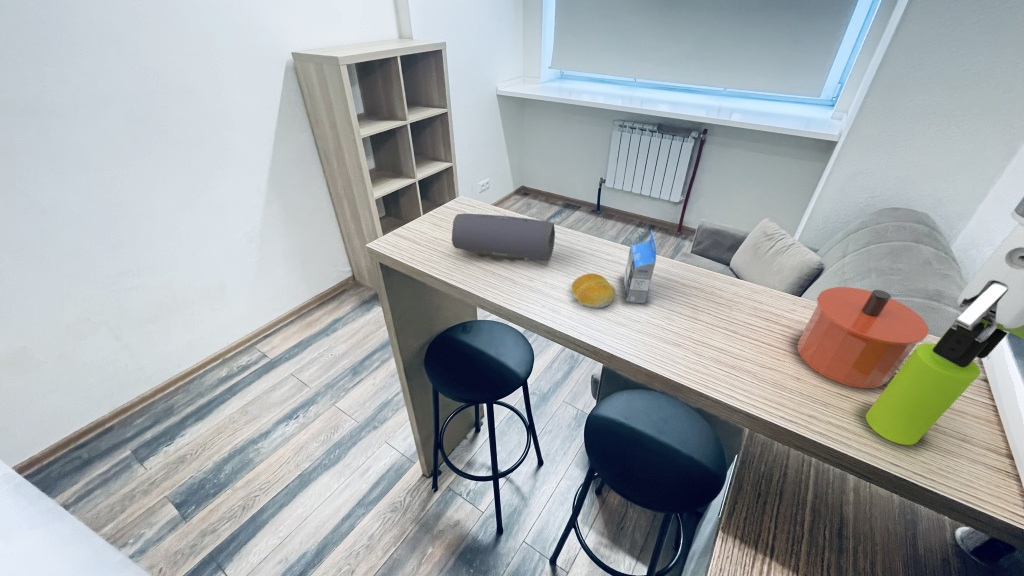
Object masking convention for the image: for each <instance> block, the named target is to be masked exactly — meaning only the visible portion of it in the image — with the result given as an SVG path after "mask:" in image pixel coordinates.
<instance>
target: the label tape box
mask: <svg viewBox="0 0 1024 576" xmlns="http://www.w3.org/2000/svg"><path fill="white" fill-rule="evenodd" d="M657 251H658V250H657V243H656V239H655V236H654V233H653V229H650V235H649V240H646V241H643V242H639V243H636V244H631V245H630V246H629V252H628V255H627V256H628V257H627V261H626V267H625V270H624V275H623V285H624V289H625V290H624V291H625V298H626V302H627V303H632V304H646V301H647V297H648V293H649V289H650V286H651V281H652V278H653V273H654V269H655V266H656V262H657Z"/></svg>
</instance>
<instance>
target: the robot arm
mask: <svg viewBox="0 0 1024 576" xmlns="http://www.w3.org/2000/svg"><path fill="white" fill-rule="evenodd" d="M1010 216H1011V218H1012V219H1013V220H1014V221H1016V222H1018V223H1017V225H1016V226H1015V227H1014V228H1013V229H1012V230H1011V231H1010V232H1009V234H1008V235H1007V236H1006V237H1005V238H1004V239H1002V240H1001V242H1000V244H998V246H997V247H996V249H995V250H994V251H993V252H992V253H991V254H990V255H989V257H988V258H987V259H986V260H985V261H984V263H983V264H982V265H981V267H980V268H979V269H978V270H977V271H976V273H975V274H974V275H973V277H971V279H970V280H969V282H968V283H967V285H965V287H964V288H963V290H962V291H961V293H960V295H959V296H958V298H957V300H956V303H957V305H958V307H959V308H965V307H966V308H965V309H964V310H963V311H962V313H961V314H960V315H958V317H956V319H955V320H954V322H953V323H952V324H951V326H949V328H948V329H947V330H948V331H947V330H946V331H947V332H946V331H945V332H946V333H945V332H944V333H945V335H944V334H943V335H944V336H943V335H942V336H943V337H942V336H941V337H942V338H941V337H940V338H941V340H940V339H939V340H940V341H939V340H938V341H939V342H938V341H937V342H938V343H937V342H936V343H937V345H936V346H935V347H934V348H933V352H934V353H936V354H938V355H939V356H941V357H943V358H945V359H947V360H949V361H950V362H952V363H954V364H956V365H958V366H959V367H962V368H964V367H967V366H968V365H969V364H970V363H971V362H972V361H974V360H975V359H976V358H978V359H985V358H987V357H988V356H989V355H990V354H991V353H992V352H993V350H994V349H995V348H996V347H997V346H998V345H999V344H1000V343H1001V342H1002V341H1003V340H1004V339H1005V338H1006V336H1007V335H1008V334H1009V332H1006V331H1003V330H1000V329H997V327H998V326H999V325H1000V324H1001V325H1003V327H1004V328H1006V329H1012V328H1018V327H1021V326H1024V196H1023V197H1022V198H1021V199H1020V201H1019V202H1018V203H1017V205H1016V206H1015V207H1014V209H1013V210H1012V212H1011V213H1010ZM981 319H984V320H986V321H989V322H990V323H989V324H988V325H987V326H986V327H984V326H985V324H983V323H981V322H980V320H981Z"/></svg>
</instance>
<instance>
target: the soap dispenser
mask: <svg viewBox="0 0 1024 576" xmlns="http://www.w3.org/2000/svg"><path fill="white" fill-rule="evenodd" d="M980 322H981V323H983V324H985V326H984V327H986V326H987V325H988V324H989V323H990V322H989V321H986V320H984V319H981V320H980ZM997 329H1000V330H1003V331H1005V332H1007V333H1008V334H1009V333H1010V334H1012V335H1014V336H1016V337H1019V338H1021V339H1022V340H1024V325H1023V326H1021V327H1018V328H1012V329H1006V328H1004V327H1003V325H1001V324H1000V325H999V326H998V327H997ZM947 331H948V329H947V330H946V331H945V332H944V333H943V334H942V336H941V337H940V338H939V339H938V341H937V342H936V343H920V344H918V345H917V346H916V347H915V349H914V350H913V351H912V352H911V354H910V355H909V356H908V358H907V359H906V361H905V362H904V363H903V364H902V366H900V368H899V370H898V371H896V373H895V375H893V377H892V379H890V381H889V383H888V384H887V386H886V387H885V388H884V389H883V391H882V392H881V394H879V396H878V398H876V400H875V401H874V402H873V404H872V406H871V407H870V408H869V409H868V410H867V412H866V414H865V421H866V422H867V424H868V425H869V427H870V428H871V429H872V430H873V431H874V432H875V433H877V434H878V435H880V436H881V437H883V438H884V439H886V440H888V441H890V442H893V443H895V444H899V445H902V446H903V445H904V446H912V445H915V444H917V443H918V442H919V441H920V440H921V439H922V438H923V437H924V435H926V433H928V431H929V430H930V429H931V428H932V427H933V426H934V425H935V424H936V422H938V420H940V419H941V417H942V416H943V415H944V414H945V413H946V412H947V411H948V409H949V408H950V407H951V406H952V405H953V404H954V403H955V402H956V401H957V400H958V399H959V397H960V396H962V394H964V393H965V391H966V390H967V389H968V388H969V387H970V386H971V385H972V384H973V382H975V381H976V379H977V378H978V377H979V376H980V375H981V369H980V367H979V366H978V364H977V363H976V362H975V361H974V360H973V361H972V362H971V363H970V364H969V365H968V366H967V367H964V368H962V367H959V366H958V365H956V364H954V363H952V362H950V361H949V360H947V359H945V358H943V357H941V356H939V355H938V354H936V353H934V352H933V348H934V347H935V346H936V345H937V343H938V342H939V341H940V340H941V338H942V337H943V336H944V335H945V333H946V332H947Z"/></svg>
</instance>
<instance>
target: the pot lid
mask: <svg viewBox="0 0 1024 576" xmlns="http://www.w3.org/2000/svg"><path fill="white" fill-rule="evenodd" d="M817 305H818V308H819V309H820V311H821V312H822V313H823V314H824V316H826V317H827V318H828V319H829V320H830V321H832V322H833V323H834V324H836V325H838V326H839V327H841V328H843V329H844V330H846V331H849V332H851V333H853V334H855V335H858V336H860V337H863V338H866V339H869V340H872V341H876V342H880V343H885V344H892V345H912V344H916V343H917V344H919V343H921V342H923V341H924V340H925V339H926V338H927V337H928V334H929V326H928V325H927V323H926V321H925V320H924V318H923V317H922V316H921V315H920V314H918V313H917V312H916V311H915V310H913V309H912V308H911V307H909V306H908V305H906V304H903V303H902V302H900V301H898V300H896V299H893V298H892V295H891V294H890V293H889V292H887V291H885V290H881V289H874V290H872V291H871V290H867V289H863V288H858V287H857V288H856V287H848V286H834V287H829V288H827V289H824V290H822V291H820V293H819V294H818V295H817V298H816V306H817ZM917 344H916V345H917Z"/></svg>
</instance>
